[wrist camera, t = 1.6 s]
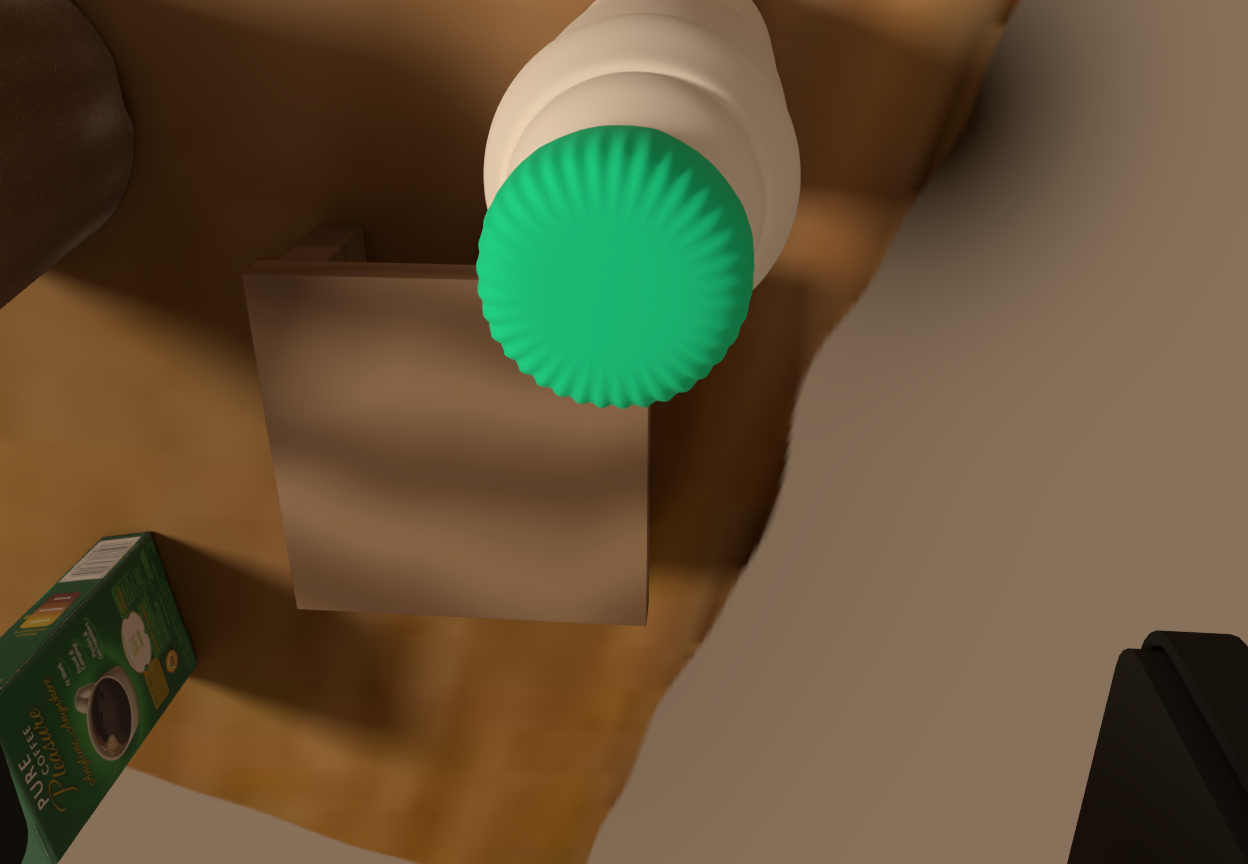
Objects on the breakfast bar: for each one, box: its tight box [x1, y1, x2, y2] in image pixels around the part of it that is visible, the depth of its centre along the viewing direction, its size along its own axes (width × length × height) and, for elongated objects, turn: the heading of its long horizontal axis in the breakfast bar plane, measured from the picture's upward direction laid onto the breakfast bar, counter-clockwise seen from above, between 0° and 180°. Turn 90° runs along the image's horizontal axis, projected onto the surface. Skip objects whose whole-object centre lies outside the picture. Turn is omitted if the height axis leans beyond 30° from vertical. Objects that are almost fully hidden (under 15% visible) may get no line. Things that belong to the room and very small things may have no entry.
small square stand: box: [242, 226, 651, 626], centre depth 43 cm, size 14×14×7 cm
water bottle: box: [476, 0, 801, 409], centre depth 29 cm, size 7×7×25 cm
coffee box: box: [0, 532, 198, 864], centre depth 47 cm, size 8×3×13 cm, turn 7°
